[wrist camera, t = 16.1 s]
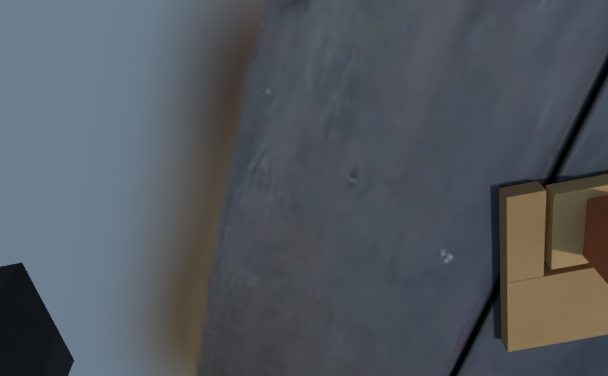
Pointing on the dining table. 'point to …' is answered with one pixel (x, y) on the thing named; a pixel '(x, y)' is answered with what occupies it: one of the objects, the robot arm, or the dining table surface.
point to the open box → (577, 224)
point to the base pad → (542, 280)
